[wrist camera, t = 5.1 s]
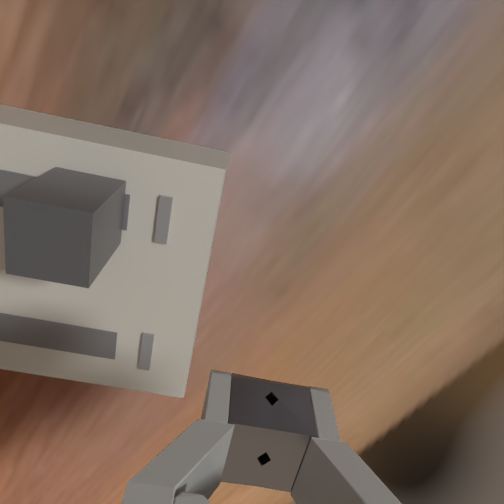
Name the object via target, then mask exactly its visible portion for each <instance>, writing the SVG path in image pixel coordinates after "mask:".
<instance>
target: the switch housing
mask: <svg viewBox="0 0 504 504" xmlns="http://www.w3.org/2000/svg"><path fill="white" fill-rule="evenodd" d="M229 155H230V152H227V151H222V150H217V149H213V148H208V147H203V146H198V145H194V144H189V143H184V142H179V141H174V140H170V139H165V138H160V137H155V136H150V135H146V134H141V133H136V132H131V131H127V130H122V129H117V128H112V127H107V126H103V125H98V124H93V123H88V122H84V121H79V120H74V119H69V118H64V117H60V116H55V115H50V114H45V113H40V112H36V111H31V110H26V109H21V108H17V107H12V106H7V105H2V104H0V369H4V370H10V371H16V372H23V373H29V374H35V375H41V376H48V377H54V378H60V379H67V380H73V381H79V382H85V383H92V384H98V385H104V386H111V387H117V388H123V389H129V390H136V391H142V392H148V393H155V394H161V395H167V396H173V397H180V398H184V394H185V389H186V384H187V379H188V374H189V369H190V364H191V359H192V354H193V349H194V344H195V338H196V333H197V327H198V322H199V317H200V311H201V306H202V300H203V295H204V290H205V284H206V279H207V273H208V268H209V263H210V257H211V252H212V247H213V241H214V236H215V230H216V225H217V220H218V214H219V209H220V203H221V198H222V193H223V187H224V182H225V176H226V171H227V166H228V160H229ZM54 167H59V168H64V169H69V170H74V171H79V172H84V173H89V174H94V175H99V176H104V177H109V178H114V179H119V180H124V181H126V189H125V200H124V211H123V223H122V234H121V244H120V245H119V246H118V248H117V249H116V251H115V252H114V253H113V255H112V256H111V258H110V259H109V260H108V262H107V263H106V265H105V266H104V267H103V269H102V270H101V272H100V273H99V275H98V276H97V277H96V279H95V280H94V282H93V283H92V284H91V286H90V287H89V288H84V287H78V286H72V285H67V284H61V283H56V282H50V281H44V280H39V279H33V278H27V277H22V276H16V275H10V274H6V271H5V243H4V215H3V196H4V195H6V194H7V193H9V192H11V191H13V190H15V189H16V188H18V187H20V186H22V185H24V184H25V183H27V182H29V181H31V180H33V179H34V178H36V177H38V176H40V175H42V174H43V173H45V172H47V171H49V170H51V169H53V168H54Z"/></svg>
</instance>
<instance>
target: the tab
mask: <svg viewBox="0 0 504 504" xmlns="http://www.w3.org/2000/svg"><path fill="white" fill-rule="evenodd" d="M125 189H126V181H124V180H119V179H114V178H109V177H104V176H99V175H94V174H89V173H84V172H79V171H74V170H69V169H64V168H59V167H54V168H53V169H51V170H49V171H47V172H45V173H43V174H42V175H40V176H38V177H36V178H34V179H33V180H31V181H29V182H27V183H25V184H24V185H22V186H20V187H18V188H16V189H15V190H13V191H11V192H9V193H7V194H6V195H4V196H3V215H4V243H5V271H6V274H10V275H16V276H22V277H27V278H33V279H39V280H44V281H50V282H56V283H61V284H67V285H72V286H78V287H84V288H89V287H90V286H91V284H92V283H93V282H94V280H95V279H96V277H97V276H98V275H99V273H100V272H101V270H102V269H103V267H104V266H105V265H106V263H107V262H108V260H109V259H110V258H111V256H112V255H113V253H114V252H115V251H116V249H117V248H118V246H119V245H120V244H121V234H122V223H123V211H124V200H125Z"/></svg>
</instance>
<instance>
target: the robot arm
mask: <svg viewBox="0 0 504 504" xmlns="http://www.w3.org/2000/svg"><path fill="white" fill-rule="evenodd" d="M220 482H227V483H235V484H244V485H252V486H259V487H264V488H270V489H275V490H281V491H286V492H291V496H292V497H293V499H294V501H295V503H296V504H401V503H400V501H399V500H398V499H397V498H396V497H395V496H394V495H393V494H392V492H391V491H390V490H389V489H388V488H387V487H386V486H385V485H384V484H383V482H381V480H380V479H379V478H378V477H377V476H376V475H375V474H374V472H373V471H372V470H371V469H370V468H369V467H368V466H367V465H366V464H365V463H364V461H363V460H362V459H361V458H360V457H359V456H358V455H357V454H356V452H355V451H354V450H353V449H352V448H351V447H350V446H349V445H348V444H347V443H346V442H341V440H340V436H339V431H338V427H337V422H336V418H335V413H334V409H333V404H332V400H331V395H330V392H329V390H328V389H324V388H317V387H310V386H308V387H307V386H301V385H295V384H289V383H283V382H277V381H270V380H265V379H260V378H255V377H250V376H245V375H240V374H234V373H232V374H231V373H227V372H222V371H217V370H211V373H210V377H209V382H208V386H207V391H206V396H205V401H204V405H203V410H202V415H201V419H197V420H196V421H195V422H194V423H192V424H191V425H190V426H189V427H188V428H187V429H186V430H185V431H184V432H183V433H181V434H180V435H179V436H178V437H177V438H176V439H175V440H174V441H173V442H172V443H170V444H169V445H168V446H167V447H166V448H165V449H164V450H163V451H162V452H161V453H159V454H158V455H157V456H156V457H155V458H154V459H153V460H152V461H151V462H150V463H148V464H147V465H146V466H145V467H144V468H143V469H142V470H141V471H140V472H139V473H137V474H136V475H135V476H134V477H133V478H132V479H131V480H130V481H129V482H128V484H127V487H126V490H125V494H124V497H123V500H122V503H121V504H209V503H210V502H209V501H208V499H209V498H210V496H211V495H212V494H213V492H214V491H215V490H216V488H217V487H218V486H219V484H220Z"/></svg>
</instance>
